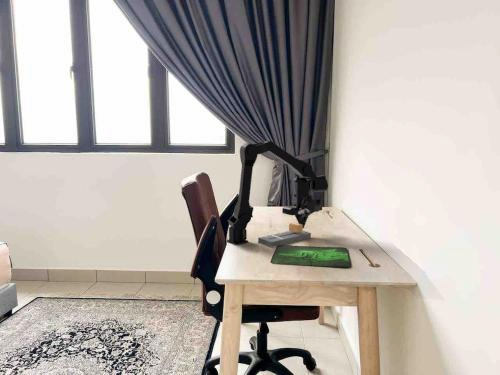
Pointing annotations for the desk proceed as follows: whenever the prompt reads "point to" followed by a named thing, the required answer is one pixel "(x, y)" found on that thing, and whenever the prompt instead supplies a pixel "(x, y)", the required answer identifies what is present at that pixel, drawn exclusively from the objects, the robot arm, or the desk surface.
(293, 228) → the fader
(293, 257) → the mouse mat
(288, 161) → the robot arm
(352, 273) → the desk surface
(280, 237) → the grey flat panel
